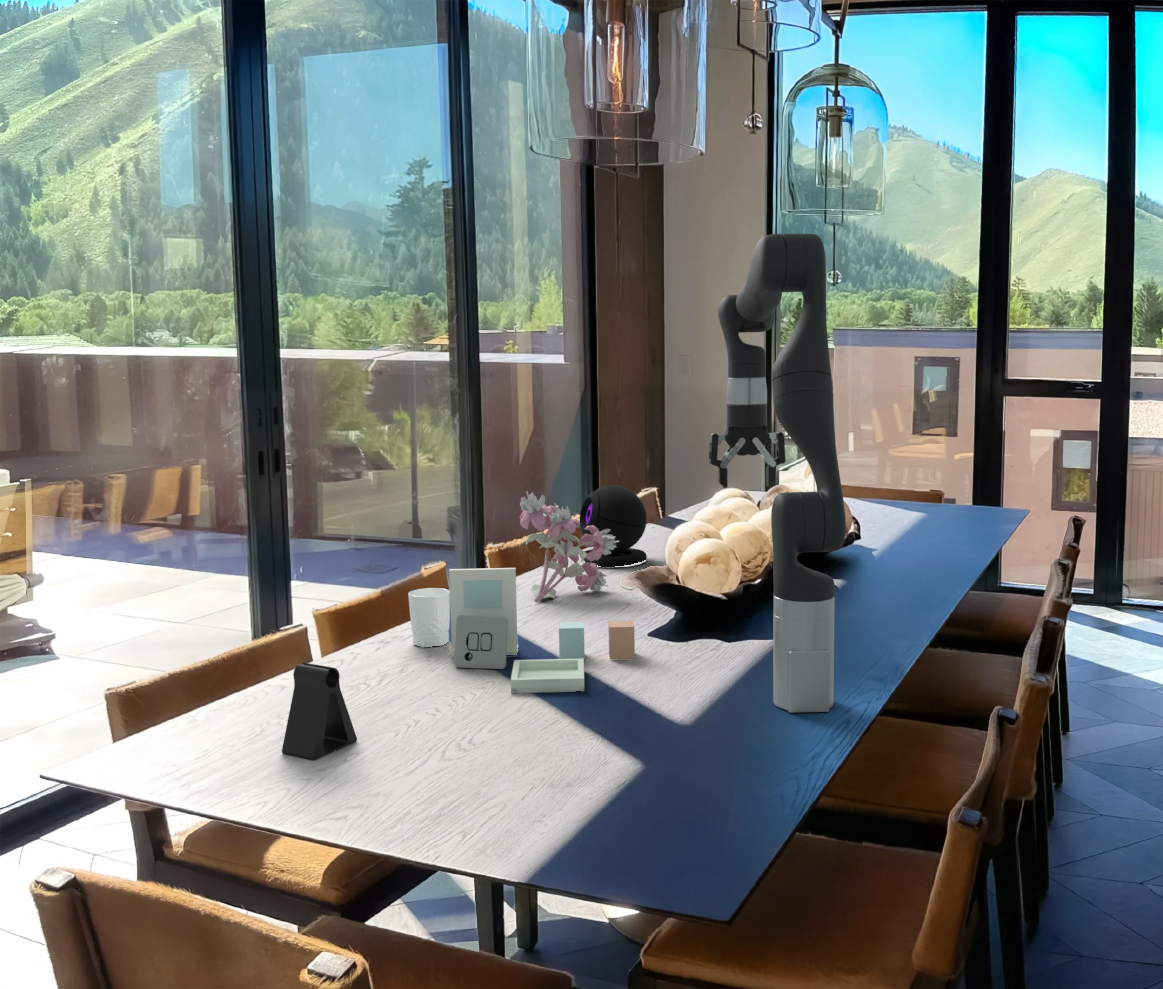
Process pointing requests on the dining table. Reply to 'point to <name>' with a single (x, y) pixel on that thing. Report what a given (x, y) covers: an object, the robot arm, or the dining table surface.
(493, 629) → the electrical switch
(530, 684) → the tray
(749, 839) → the dining table surface
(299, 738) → the black triangular stand
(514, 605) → the placard
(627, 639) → the terracotta block
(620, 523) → the webcam
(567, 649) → the blue block
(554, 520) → the flower
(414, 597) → the white cup
